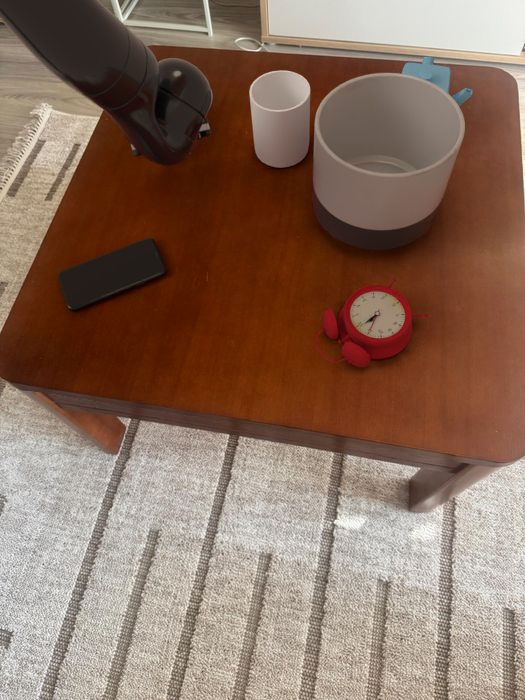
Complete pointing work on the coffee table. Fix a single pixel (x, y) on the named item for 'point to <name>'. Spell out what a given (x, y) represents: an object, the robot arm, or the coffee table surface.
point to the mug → (280, 117)
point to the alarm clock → (370, 325)
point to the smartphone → (111, 274)
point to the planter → (383, 158)
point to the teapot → (435, 77)
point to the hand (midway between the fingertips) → (170, 142)
